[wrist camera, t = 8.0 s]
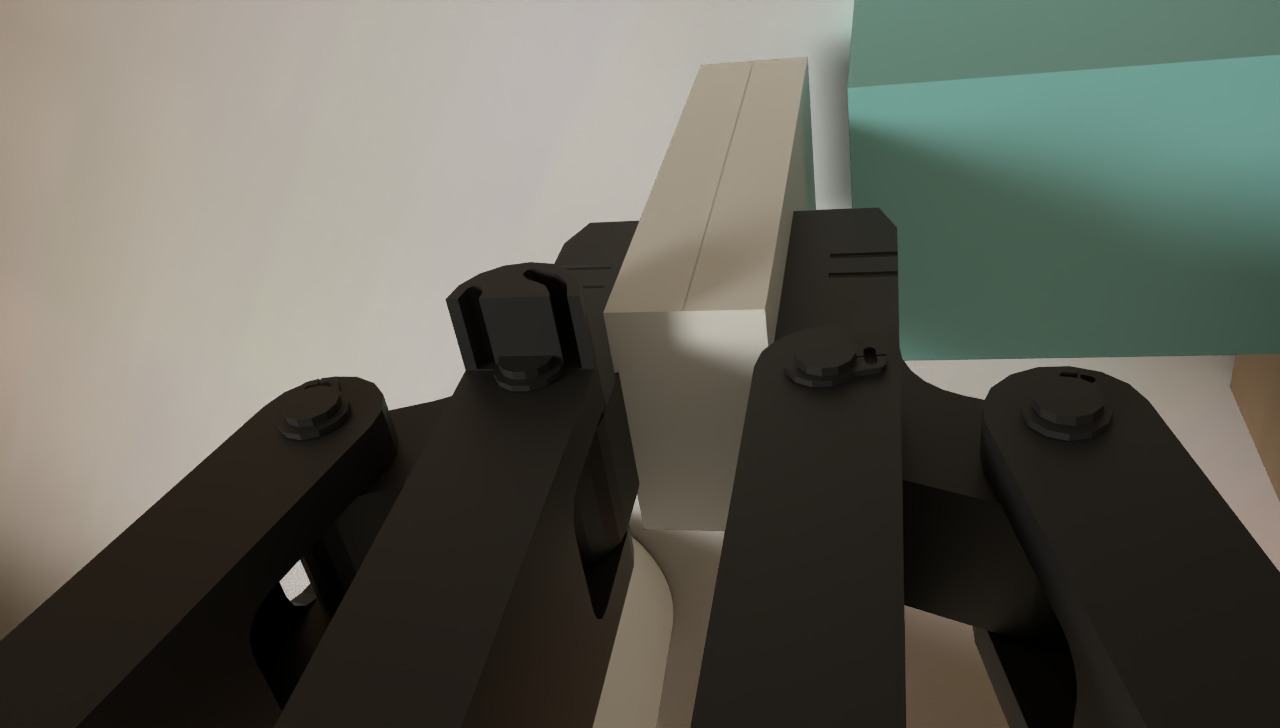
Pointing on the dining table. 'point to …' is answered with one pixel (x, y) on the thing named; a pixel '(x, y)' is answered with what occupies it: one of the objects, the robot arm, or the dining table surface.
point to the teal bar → (1073, 173)
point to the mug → (638, 650)
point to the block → (1261, 406)
